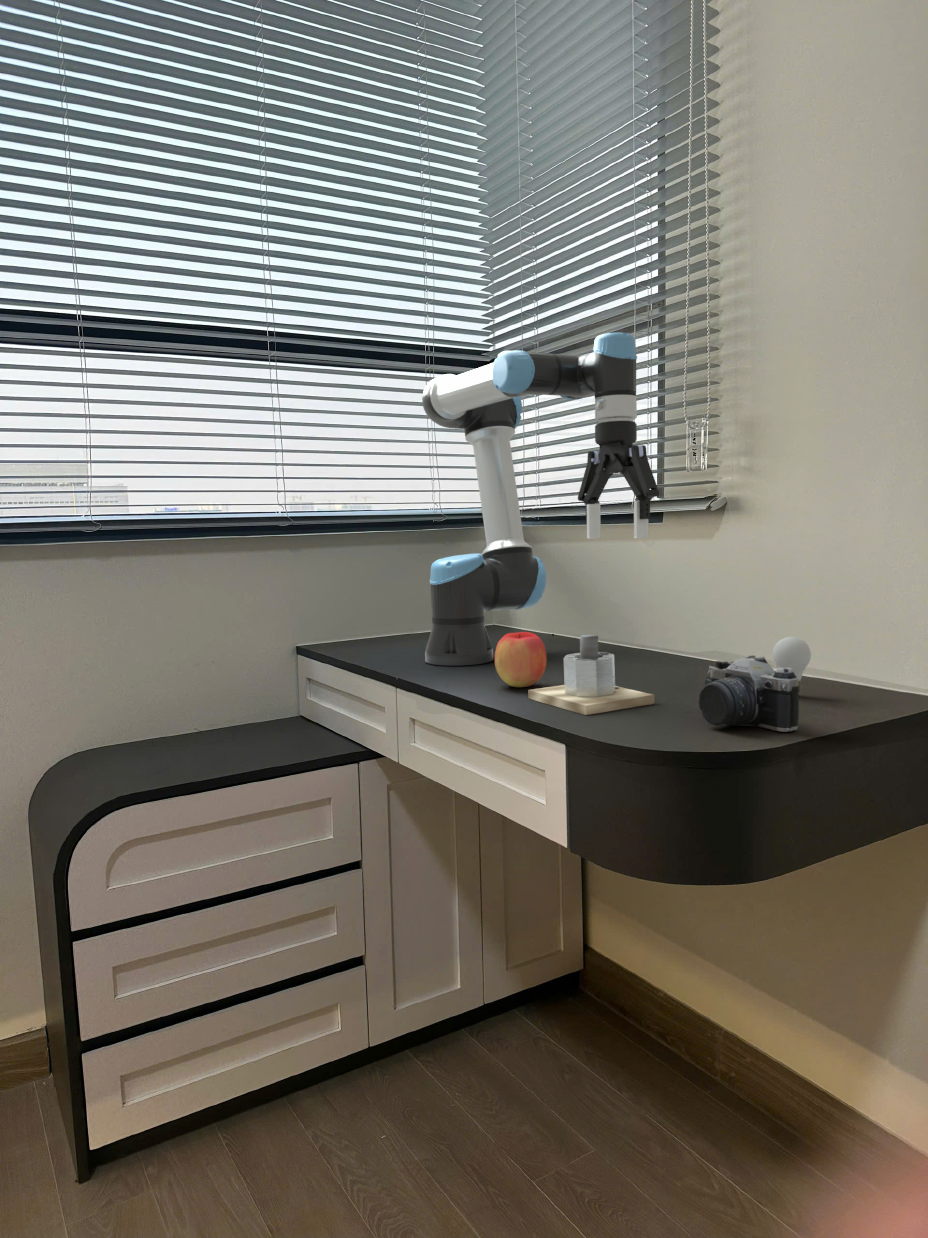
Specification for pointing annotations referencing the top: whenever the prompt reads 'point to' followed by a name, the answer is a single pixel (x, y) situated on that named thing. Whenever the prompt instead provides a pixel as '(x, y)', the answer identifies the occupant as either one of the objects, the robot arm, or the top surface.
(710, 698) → the camera
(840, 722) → the top surface
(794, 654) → the light bulb
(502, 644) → the apple
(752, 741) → the top surface
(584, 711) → the shaft stand
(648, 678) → the top surface
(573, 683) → the hub
